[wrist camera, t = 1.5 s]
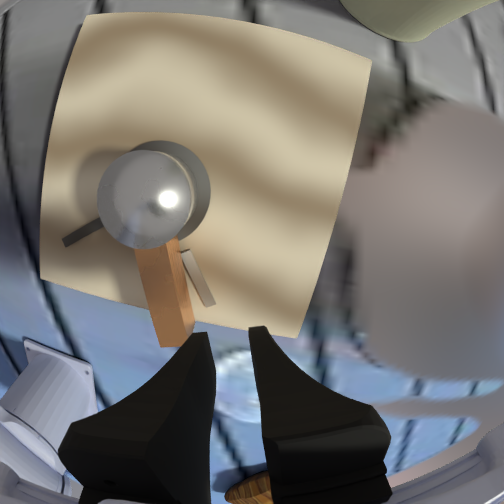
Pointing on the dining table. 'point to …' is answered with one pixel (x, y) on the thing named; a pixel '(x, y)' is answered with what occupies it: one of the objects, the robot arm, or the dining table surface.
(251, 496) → the croissant
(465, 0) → the can
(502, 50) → the dining table surface
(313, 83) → the base plate
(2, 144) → the dining table surface
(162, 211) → the wooden handled dome
